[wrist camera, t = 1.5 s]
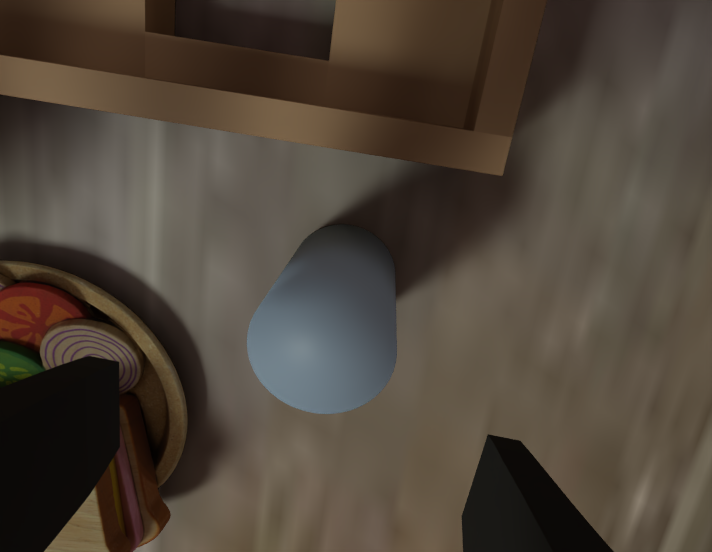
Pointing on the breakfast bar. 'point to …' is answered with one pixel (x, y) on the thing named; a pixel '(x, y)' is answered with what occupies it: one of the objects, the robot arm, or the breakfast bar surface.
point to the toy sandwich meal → (136, 394)
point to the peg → (328, 323)
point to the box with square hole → (293, 74)
